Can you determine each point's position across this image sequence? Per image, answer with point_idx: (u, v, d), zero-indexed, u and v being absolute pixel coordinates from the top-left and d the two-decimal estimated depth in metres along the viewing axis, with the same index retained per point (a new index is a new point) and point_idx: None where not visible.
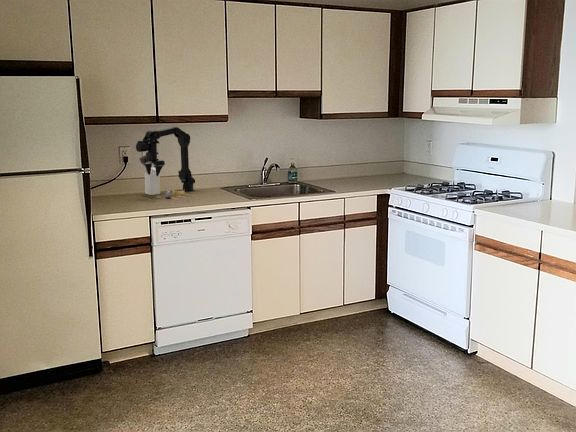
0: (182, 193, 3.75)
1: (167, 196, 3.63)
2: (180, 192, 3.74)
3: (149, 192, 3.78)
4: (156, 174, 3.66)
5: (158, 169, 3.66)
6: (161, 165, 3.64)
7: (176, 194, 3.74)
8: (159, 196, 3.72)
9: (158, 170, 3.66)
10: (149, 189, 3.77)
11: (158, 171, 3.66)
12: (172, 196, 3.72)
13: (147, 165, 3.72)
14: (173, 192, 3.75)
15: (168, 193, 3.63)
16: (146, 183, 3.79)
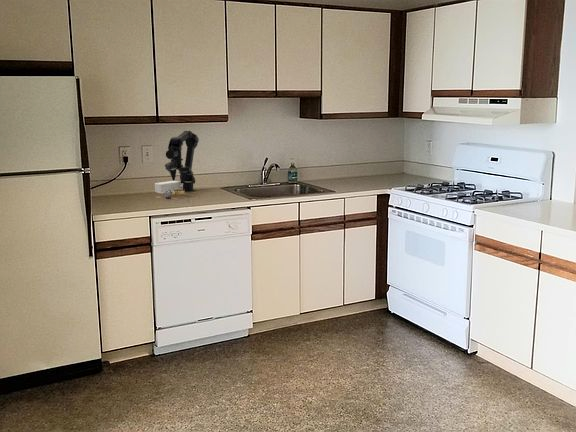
0: (182, 193, 3.75)
1: (167, 196, 3.63)
2: (180, 192, 3.74)
3: (162, 183, 3.83)
4: (181, 180, 3.72)
5: (183, 175, 3.71)
6: None
7: (176, 194, 3.74)
8: (159, 196, 3.72)
9: (183, 176, 3.71)
10: (165, 183, 3.85)
11: (183, 177, 3.72)
12: (172, 196, 3.72)
13: (172, 171, 3.78)
14: (173, 192, 3.75)
15: (168, 193, 3.63)
16: (166, 182, 3.90)
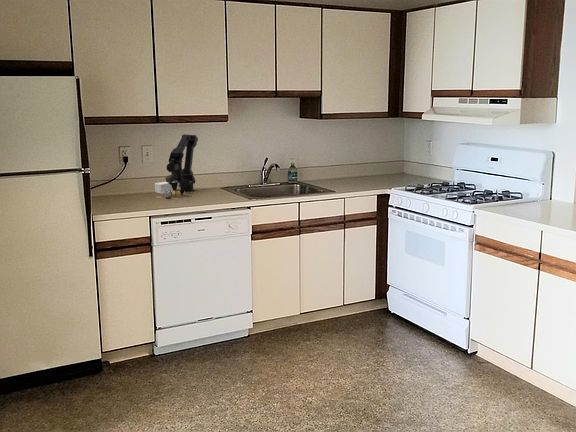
0: None
1: (167, 196, 3.63)
2: (180, 192, 3.74)
3: (162, 183, 3.83)
4: (181, 193, 3.74)
5: (183, 188, 3.73)
6: (186, 184, 3.72)
7: (176, 194, 3.74)
8: (159, 196, 3.72)
9: (183, 189, 3.74)
10: (165, 183, 3.85)
11: (183, 190, 3.74)
12: (172, 196, 3.72)
13: (173, 184, 3.79)
14: (173, 192, 3.75)
15: (168, 193, 3.63)
16: (166, 182, 3.90)
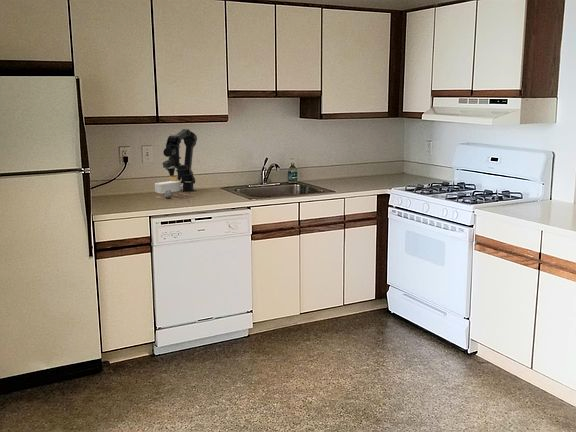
0: None
1: (167, 196, 3.63)
2: (177, 178, 3.69)
3: (162, 183, 3.83)
4: (178, 178, 3.69)
5: (180, 173, 3.69)
6: None
7: (173, 180, 3.69)
8: (159, 196, 3.72)
9: (180, 174, 3.69)
10: (165, 183, 3.85)
11: (180, 175, 3.69)
12: (172, 196, 3.72)
13: (170, 170, 3.74)
14: (170, 178, 3.70)
15: (168, 193, 3.63)
16: (166, 182, 3.90)
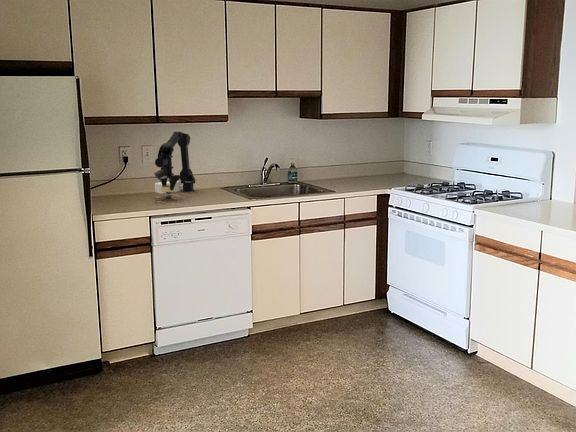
0: None
1: (167, 196, 3.63)
2: (170, 188, 3.61)
3: None
4: (171, 189, 3.61)
5: (173, 184, 3.60)
6: None
7: (166, 190, 3.60)
8: (159, 196, 3.72)
9: (173, 185, 3.60)
10: None
11: (173, 186, 3.60)
12: (172, 196, 3.72)
13: (162, 180, 3.65)
14: (162, 188, 3.61)
15: (168, 193, 3.63)
16: None
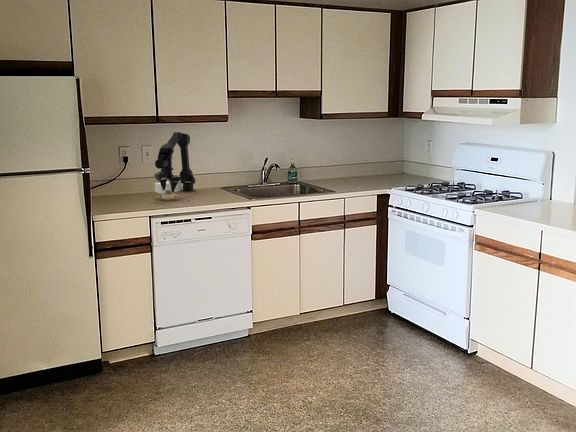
0: (172, 197, 3.63)
1: None
2: (170, 196, 3.62)
3: None
4: (171, 190, 3.60)
5: (173, 185, 3.60)
6: (176, 181, 3.58)
7: (166, 198, 3.61)
8: (159, 196, 3.72)
9: (173, 186, 3.60)
10: None
11: (173, 187, 3.60)
12: None
13: (162, 181, 3.66)
14: (163, 196, 3.62)
15: (168, 193, 3.63)
16: (166, 182, 3.90)
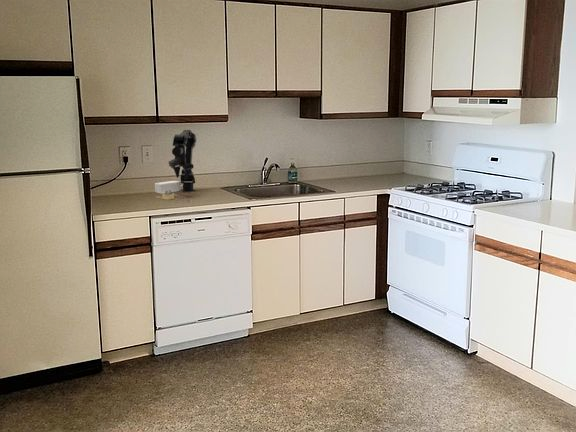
0: (172, 197, 3.63)
1: None
2: (170, 196, 3.62)
3: (162, 183, 3.83)
4: (185, 177, 3.71)
5: (187, 172, 3.71)
6: None
7: (166, 198, 3.61)
8: (159, 196, 3.72)
9: (187, 173, 3.71)
10: (165, 183, 3.85)
11: (187, 174, 3.71)
12: None
13: (176, 168, 3.77)
14: (163, 196, 3.62)
15: (168, 193, 3.63)
16: (166, 182, 3.90)
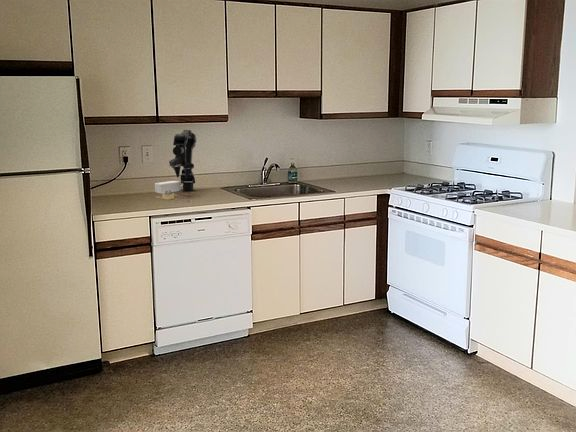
0: (172, 197, 3.63)
1: None
2: (170, 196, 3.62)
3: (162, 183, 3.83)
4: (185, 177, 3.71)
5: (187, 172, 3.71)
6: (190, 168, 3.69)
7: (166, 198, 3.61)
8: (159, 196, 3.72)
9: (187, 173, 3.71)
10: (165, 183, 3.85)
11: (187, 174, 3.71)
12: None
13: (176, 168, 3.77)
14: (163, 196, 3.62)
15: (168, 193, 3.63)
16: (166, 182, 3.90)
